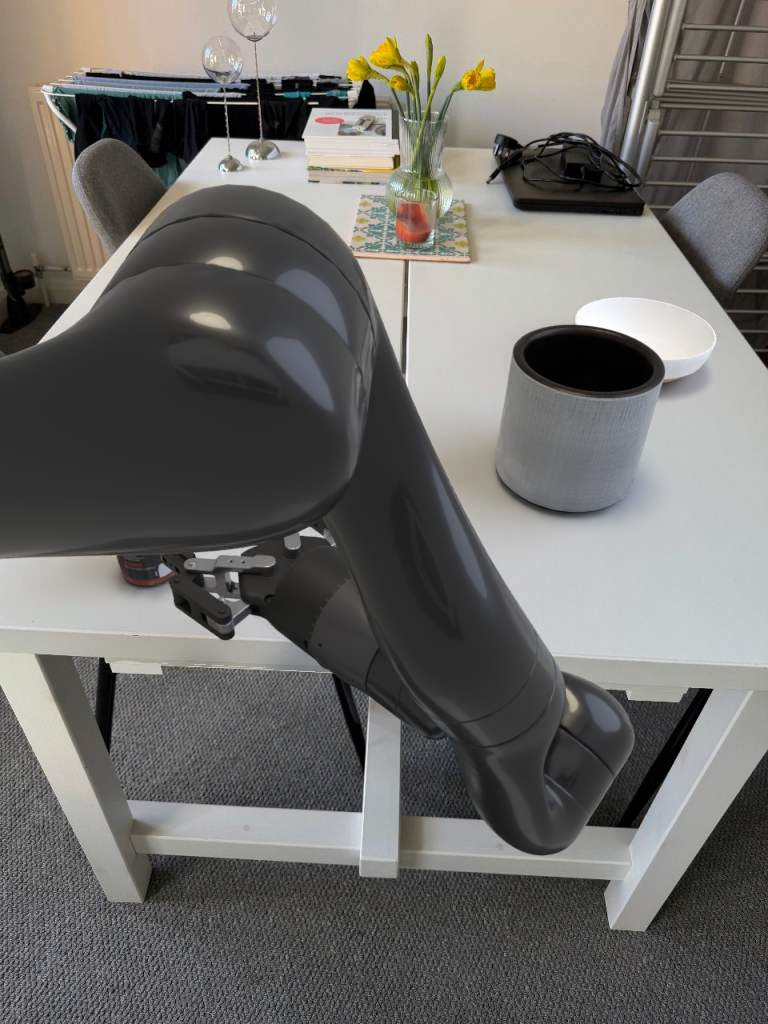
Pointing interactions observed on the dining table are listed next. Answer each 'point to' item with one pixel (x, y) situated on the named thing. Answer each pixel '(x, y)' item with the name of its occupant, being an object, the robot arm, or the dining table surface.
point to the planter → (576, 416)
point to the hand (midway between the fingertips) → (207, 518)
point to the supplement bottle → (144, 569)
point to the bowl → (655, 330)
